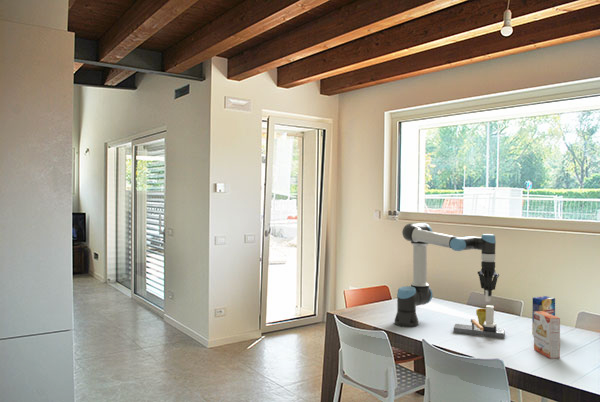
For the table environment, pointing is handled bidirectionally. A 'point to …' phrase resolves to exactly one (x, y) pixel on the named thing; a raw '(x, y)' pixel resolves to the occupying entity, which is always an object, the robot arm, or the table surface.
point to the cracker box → (547, 334)
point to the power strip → (479, 331)
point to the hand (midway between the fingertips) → (487, 301)
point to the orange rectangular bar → (476, 324)
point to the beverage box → (543, 306)
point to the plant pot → (481, 316)
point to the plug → (489, 316)
